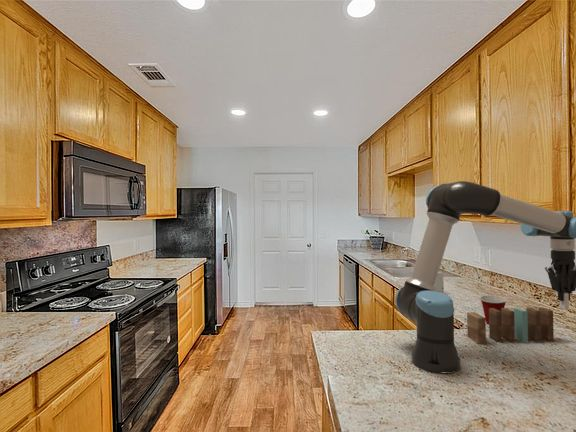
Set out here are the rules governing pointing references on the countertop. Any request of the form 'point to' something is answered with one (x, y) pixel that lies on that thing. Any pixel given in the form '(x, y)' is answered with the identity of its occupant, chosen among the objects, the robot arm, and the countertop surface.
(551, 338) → the domino
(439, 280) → the skincare box
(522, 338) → the domino
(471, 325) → the block
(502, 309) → the domino
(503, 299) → the plastic cup
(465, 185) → the robot arm
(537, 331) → the domino
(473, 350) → the countertop surface
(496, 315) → the domino
